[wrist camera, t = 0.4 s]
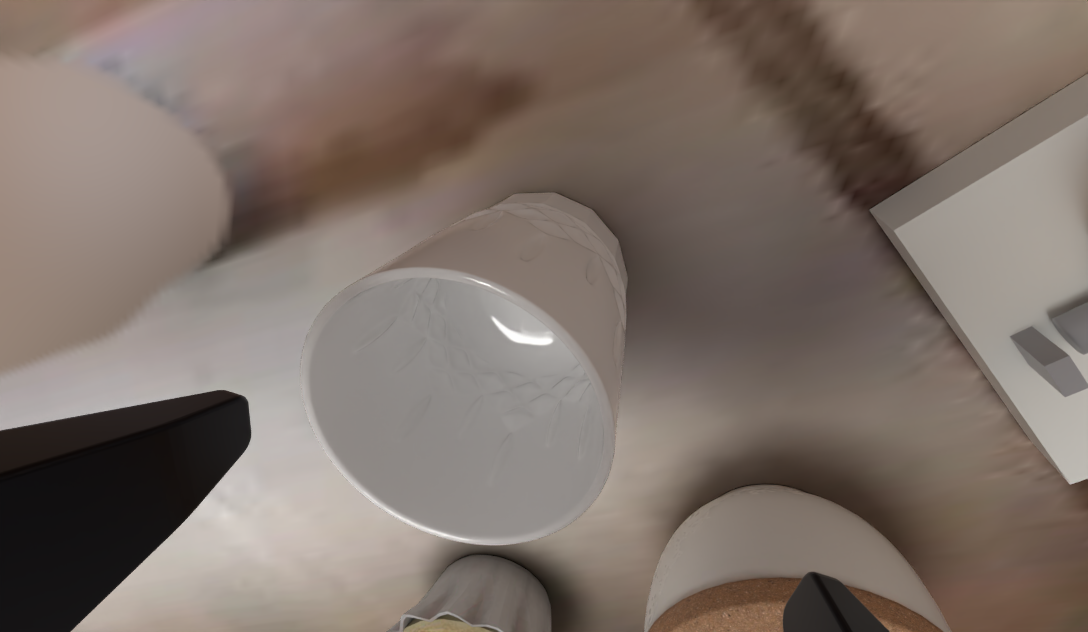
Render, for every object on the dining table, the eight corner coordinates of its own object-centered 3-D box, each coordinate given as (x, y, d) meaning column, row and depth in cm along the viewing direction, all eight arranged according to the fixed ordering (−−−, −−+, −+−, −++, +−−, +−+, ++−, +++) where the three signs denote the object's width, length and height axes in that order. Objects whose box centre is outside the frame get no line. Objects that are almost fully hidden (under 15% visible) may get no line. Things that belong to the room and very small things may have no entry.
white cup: (679, 228, 20) (678, 368, 11) (593, 389, 24) (540, 589, 15) (483, 139, 20) (327, 206, 11) (428, 313, 24) (279, 465, 15)
